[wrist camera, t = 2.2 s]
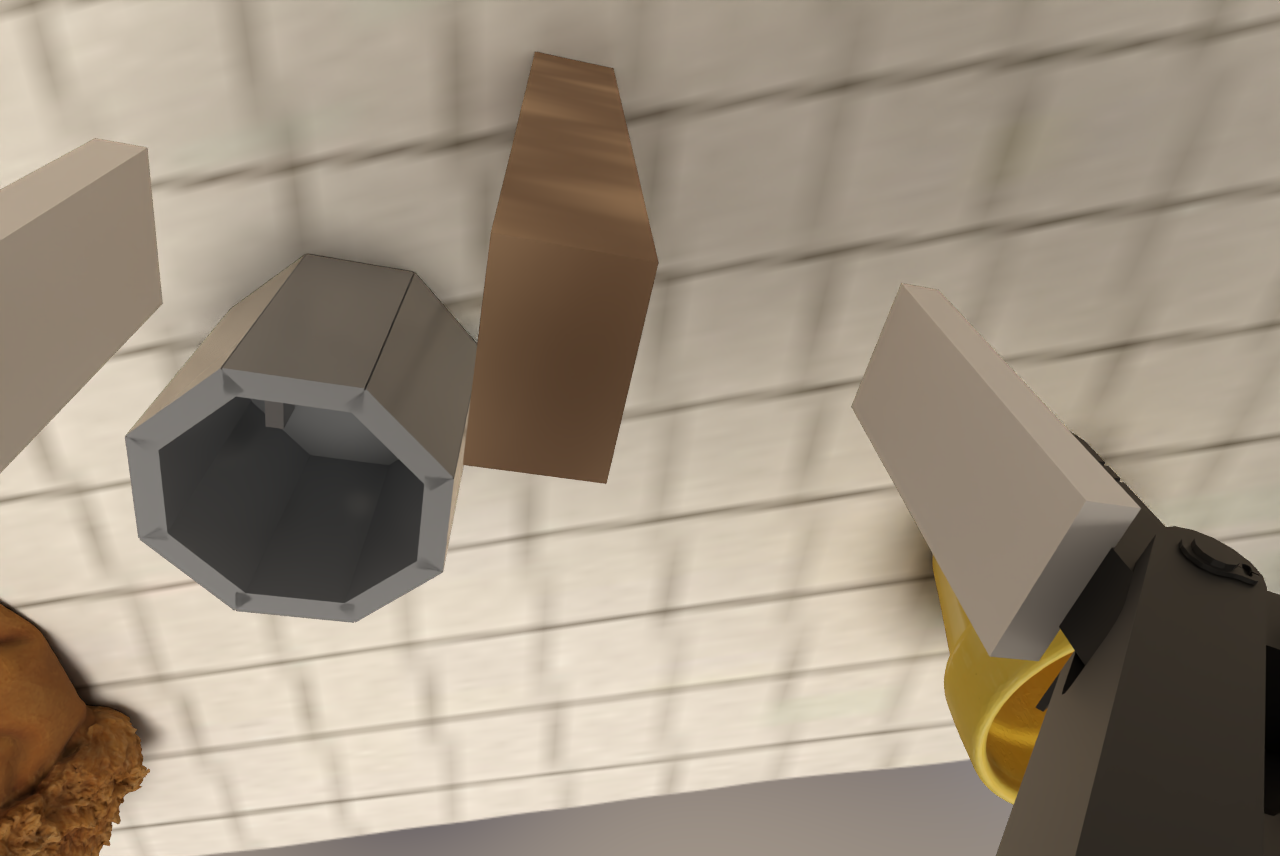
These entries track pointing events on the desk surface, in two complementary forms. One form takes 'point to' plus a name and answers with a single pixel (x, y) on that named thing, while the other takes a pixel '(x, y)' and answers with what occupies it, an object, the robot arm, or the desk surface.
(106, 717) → the stuffed squirrel
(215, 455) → the jar
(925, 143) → the desk surface
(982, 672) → the plant pot
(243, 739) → the desk surface
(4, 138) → the desk surface
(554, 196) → the tan wooden beam
